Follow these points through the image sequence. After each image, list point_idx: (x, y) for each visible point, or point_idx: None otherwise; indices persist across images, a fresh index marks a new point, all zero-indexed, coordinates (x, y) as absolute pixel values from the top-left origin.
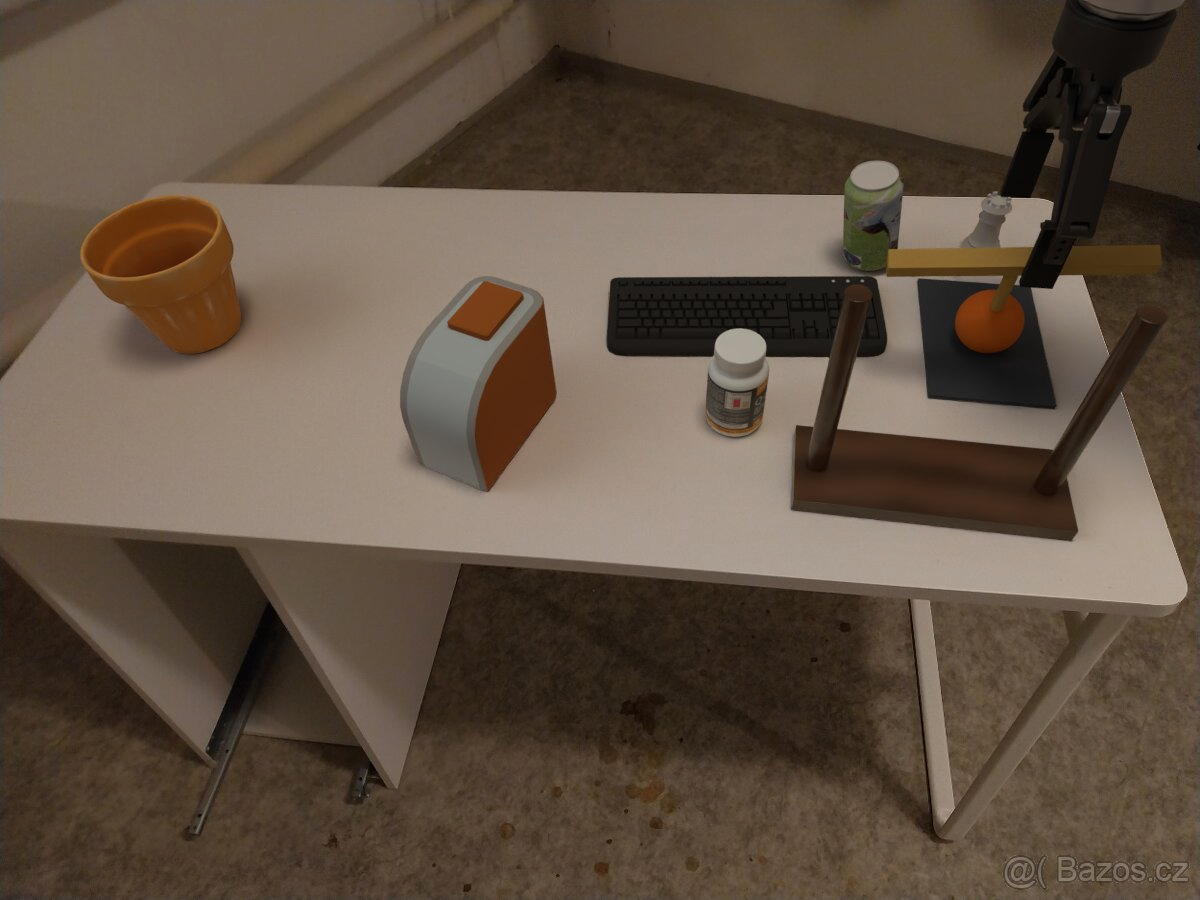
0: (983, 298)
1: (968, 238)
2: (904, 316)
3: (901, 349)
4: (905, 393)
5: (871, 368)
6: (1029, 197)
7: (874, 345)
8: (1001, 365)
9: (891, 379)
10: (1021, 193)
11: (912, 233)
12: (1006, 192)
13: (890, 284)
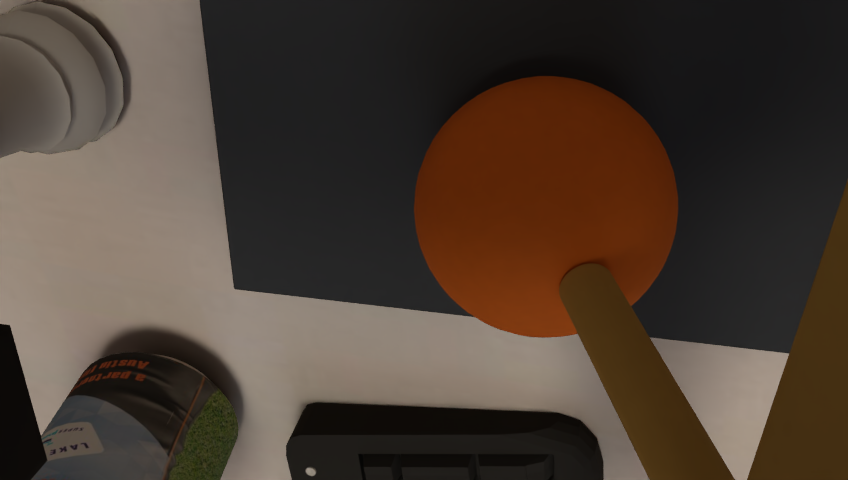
0: (524, 315)
1: (24, 150)
2: (412, 342)
3: (566, 375)
4: (768, 398)
5: None
6: (9, 334)
7: (583, 470)
8: (665, 104)
9: (702, 422)
10: (3, 392)
11: (6, 254)
12: (25, 467)
13: (268, 354)
